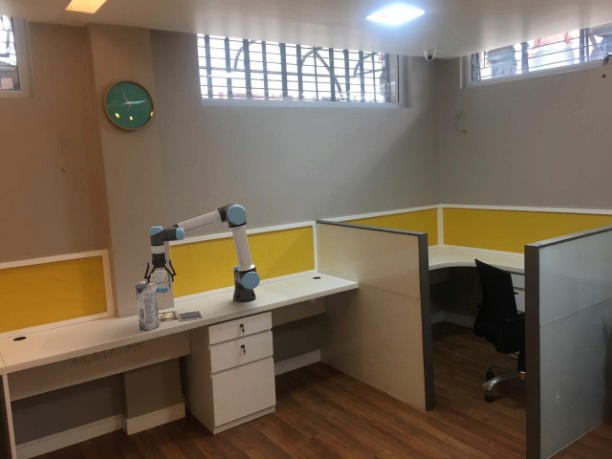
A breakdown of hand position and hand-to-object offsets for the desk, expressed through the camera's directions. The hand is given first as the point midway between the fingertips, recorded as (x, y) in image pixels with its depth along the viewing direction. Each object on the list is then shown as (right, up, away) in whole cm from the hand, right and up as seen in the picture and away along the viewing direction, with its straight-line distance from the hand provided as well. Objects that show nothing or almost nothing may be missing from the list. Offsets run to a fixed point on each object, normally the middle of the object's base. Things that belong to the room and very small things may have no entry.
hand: (161, 288), depth 318 cm
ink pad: (+17, -17, +2) cm, 24 cm away
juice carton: (-2, -21, -16) cm, 26 cm away
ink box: (0, -2, 0) cm, 2 cm away
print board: (+1, -18, +2) cm, 18 cm away
